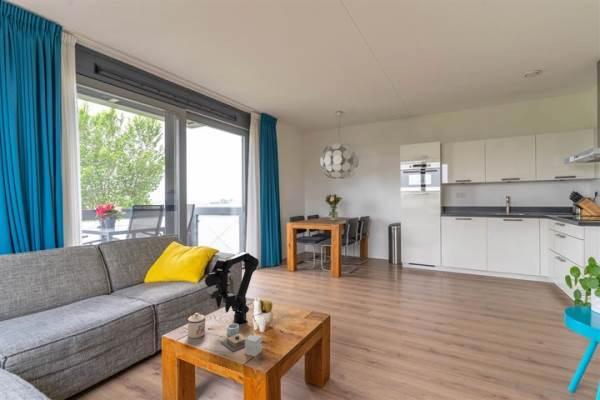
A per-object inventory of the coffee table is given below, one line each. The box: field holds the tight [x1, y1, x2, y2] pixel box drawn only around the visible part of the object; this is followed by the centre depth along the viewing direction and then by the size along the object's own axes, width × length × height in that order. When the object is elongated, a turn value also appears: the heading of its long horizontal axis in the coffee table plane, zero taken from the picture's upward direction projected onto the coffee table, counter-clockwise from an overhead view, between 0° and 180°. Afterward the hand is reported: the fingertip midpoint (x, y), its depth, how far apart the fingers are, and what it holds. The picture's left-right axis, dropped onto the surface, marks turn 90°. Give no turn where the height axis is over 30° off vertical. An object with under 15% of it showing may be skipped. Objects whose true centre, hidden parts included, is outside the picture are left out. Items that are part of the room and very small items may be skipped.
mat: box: [220, 333, 245, 352], centre depth 150 cm, size 12×12×1 cm
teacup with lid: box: [187, 312, 206, 339], centre depth 161 cm, size 12×9×12 cm
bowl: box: [226, 323, 240, 337], centre depth 161 cm, size 6×6×4 cm
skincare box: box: [244, 333, 263, 357], centre depth 141 cm, size 6×6×7 cm
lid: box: [226, 332, 247, 347], centre depth 150 cm, size 8×8×3 cm
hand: (222, 309), depth 163 cm, fingers open, 9 cm apart
